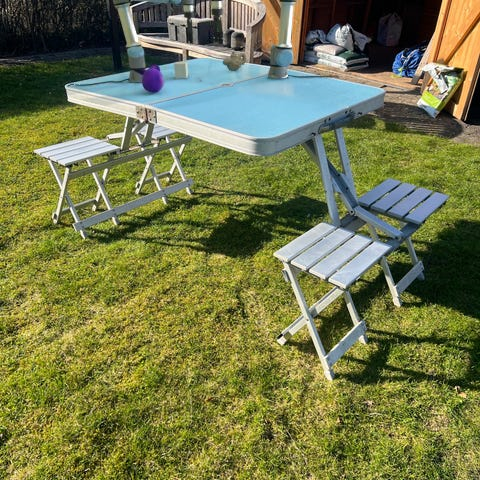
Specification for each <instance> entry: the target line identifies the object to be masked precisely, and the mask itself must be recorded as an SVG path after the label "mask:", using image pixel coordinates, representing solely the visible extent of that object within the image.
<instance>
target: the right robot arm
mask: <svg viewBox="0 0 480 480" xmlns="http://www.w3.org/2000/svg"><path fill="white" fill-rule="evenodd" d="M278 2H279V4H280V15H279V29H278V30H279V31H278V42H277V44H274V45H271V46H270V52H269V53H270V56H269V57H270V58H269V60H270V61H269V66H270V67H269V70H268V72H267V79H269V80H285V79H288V78H289V77H292V78H298V79H299V78H338V79H339V78H340V76H339V75H305V76H304V75H302V76H301V75H299V76H298V75H292V74H288V71H287V67H288V66H290V65H291V64H292V63H293V61H294V53H293V45H292V44H291V43H292V31H293V30H292V29H293V19H294V10H295V9H294V7H295V5H296V4H297V0H279V1H278ZM209 4H210V8H211V9H210V11H211V13H210V14H211V16H212V18H213V20H212V22H213V23H212V30H213V40H214V41H213V42H214V43H218V45H223V44H224V39H223V33H224V28H223V22H222V21H223V20H222V15H223V14H224V10H223V0H210V3H209Z"/></svg>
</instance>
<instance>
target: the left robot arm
mask: <svg viewBox="0 0 480 480" xmlns="http://www.w3.org/2000/svg"><path fill="white" fill-rule="evenodd" d="M133 1H135V2H146V3H147V2H148V3H163V4H174V5H178V4H182V5H183V7H182V8H183V17H184V18H186V31H187V42H189V44H190V45H191V44H194V32H193V31H194V30H193V18H195V12H194V11H195V10H194V9H195V6H194V0H112V2H113V6H114V7H115V8H116V9H117V12H118V16H119V19H120V23H121V26H122V30H123V34H124V37H125V41H126V45H125V48H126V51H127V56H128V66H129V76H128V78H125V79H122V80H106V81H100V82H94V83H86V84H85V83H82V84H81V83H80V85H79V84H77V83H69V84H70V85H69V84H67V87H68V88H69V87H70V86H78V87H83V86H85V87H86V86H94V85H100V84H107V83H122V82H127V81H128V82H129V83H133V84H142V76H143V75H141V74H139V73H137V72H135V71H134V70H147V67H146V59H145V50H144V48H143V46H142V43H141V42H140V41H139V38H138V35H137V30H136V27H135V23H134V20H133V15H132V12H131V8H130V5H131V3H132V2H133ZM74 84H75V85H74ZM73 136H74V138H75V137H76V131H75V130H73Z"/></svg>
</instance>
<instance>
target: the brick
mask: <svg viewBox="0 0 480 480" xmlns="http://www.w3.org/2000/svg"><path fill="white" fill-rule="evenodd" d="M173 68H174V79H187V78H188V77H189V72H188V71H189V70H188V62H187V61H175V62H174V63H173Z"/></svg>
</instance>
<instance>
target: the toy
mask: <svg viewBox="0 0 480 480" xmlns="http://www.w3.org/2000/svg"><path fill="white" fill-rule="evenodd" d="M134 71H135V72H137V73H139V74H141V75H143V76H142V83H141V85H142V87H143V89H144V90H145V91H146V92H147V93H151V94H157V93H159V92H160V91H161V90H162V89H163V87H164V86H165V78H164V75H163V72H161V67H160V66H159V65H158V64H153V65H151V66H149V67H148V68H146V70H134Z"/></svg>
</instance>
